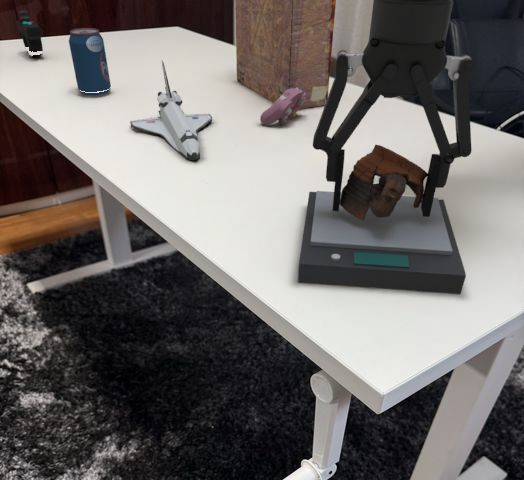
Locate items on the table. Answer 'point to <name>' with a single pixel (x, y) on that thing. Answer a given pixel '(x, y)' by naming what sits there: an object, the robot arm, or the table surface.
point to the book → (285, 47)
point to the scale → (380, 247)
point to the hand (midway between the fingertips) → (380, 208)
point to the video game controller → (284, 107)
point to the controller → (30, 33)
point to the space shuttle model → (175, 123)
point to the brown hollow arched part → (381, 183)
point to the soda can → (89, 61)
